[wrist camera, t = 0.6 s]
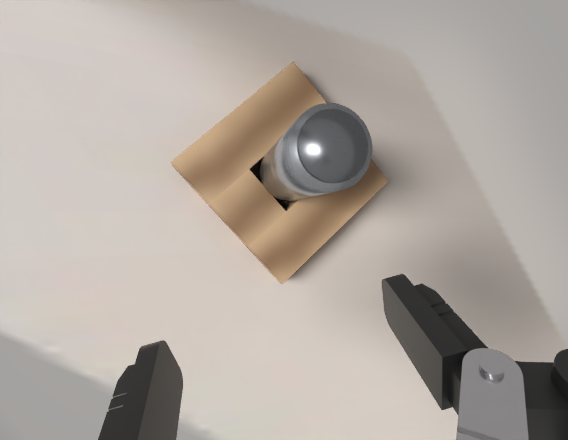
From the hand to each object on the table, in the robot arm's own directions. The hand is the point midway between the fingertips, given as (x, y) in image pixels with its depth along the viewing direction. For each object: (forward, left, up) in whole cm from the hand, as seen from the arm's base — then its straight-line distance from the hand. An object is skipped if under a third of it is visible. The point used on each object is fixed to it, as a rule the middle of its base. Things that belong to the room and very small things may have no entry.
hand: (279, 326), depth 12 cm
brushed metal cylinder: (-3, +10, -24) cm, 26 cm away
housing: (-3, +10, -24) cm, 26 cm away
